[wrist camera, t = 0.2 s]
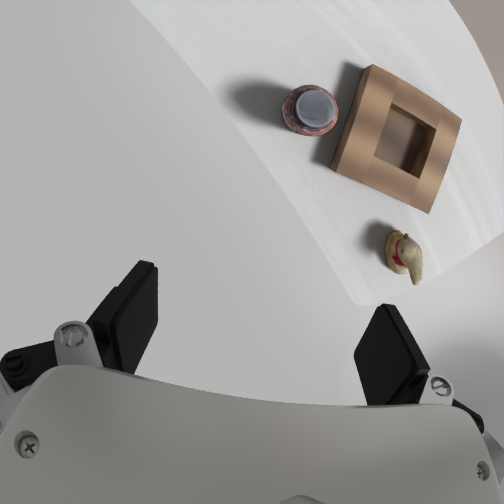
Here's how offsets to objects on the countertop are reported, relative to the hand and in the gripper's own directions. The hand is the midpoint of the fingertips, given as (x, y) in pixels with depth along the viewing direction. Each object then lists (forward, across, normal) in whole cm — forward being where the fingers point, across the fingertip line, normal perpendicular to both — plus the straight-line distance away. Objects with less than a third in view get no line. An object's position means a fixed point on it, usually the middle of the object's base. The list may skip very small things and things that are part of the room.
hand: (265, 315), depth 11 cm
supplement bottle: (+30, -3, -10) cm, 32 cm away
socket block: (+30, -17, -11) cm, 36 cm away
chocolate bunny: (+31, -23, +6) cm, 39 cm away
